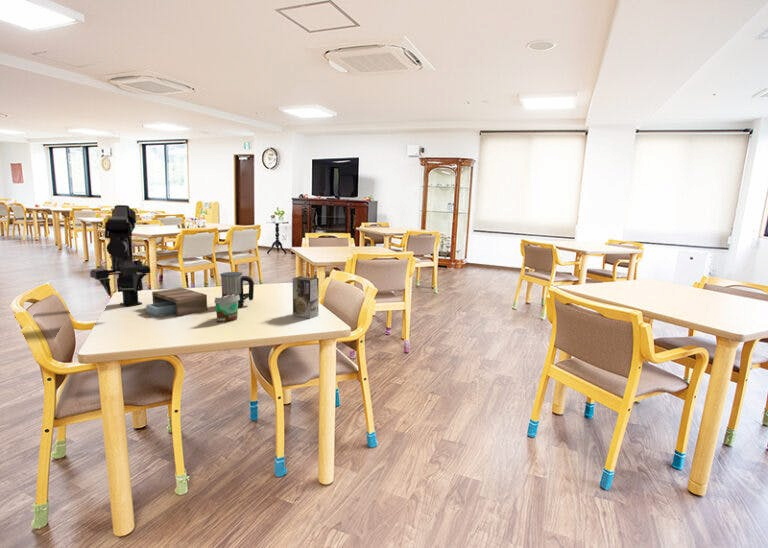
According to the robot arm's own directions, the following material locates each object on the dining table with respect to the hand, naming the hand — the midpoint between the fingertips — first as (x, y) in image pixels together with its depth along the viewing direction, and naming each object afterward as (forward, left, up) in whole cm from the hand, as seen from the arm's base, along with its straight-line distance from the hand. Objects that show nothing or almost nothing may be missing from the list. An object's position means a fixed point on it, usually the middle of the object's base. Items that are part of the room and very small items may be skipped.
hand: (123, 293), depth 160 cm
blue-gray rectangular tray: (0, +18, -10) cm, 21 cm away
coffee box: (+45, +51, -11) cm, 69 cm away
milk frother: (+9, +43, -11) cm, 45 cm away
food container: (+28, +27, -11) cm, 40 cm away
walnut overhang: (0, +22, -10) cm, 24 cm away
